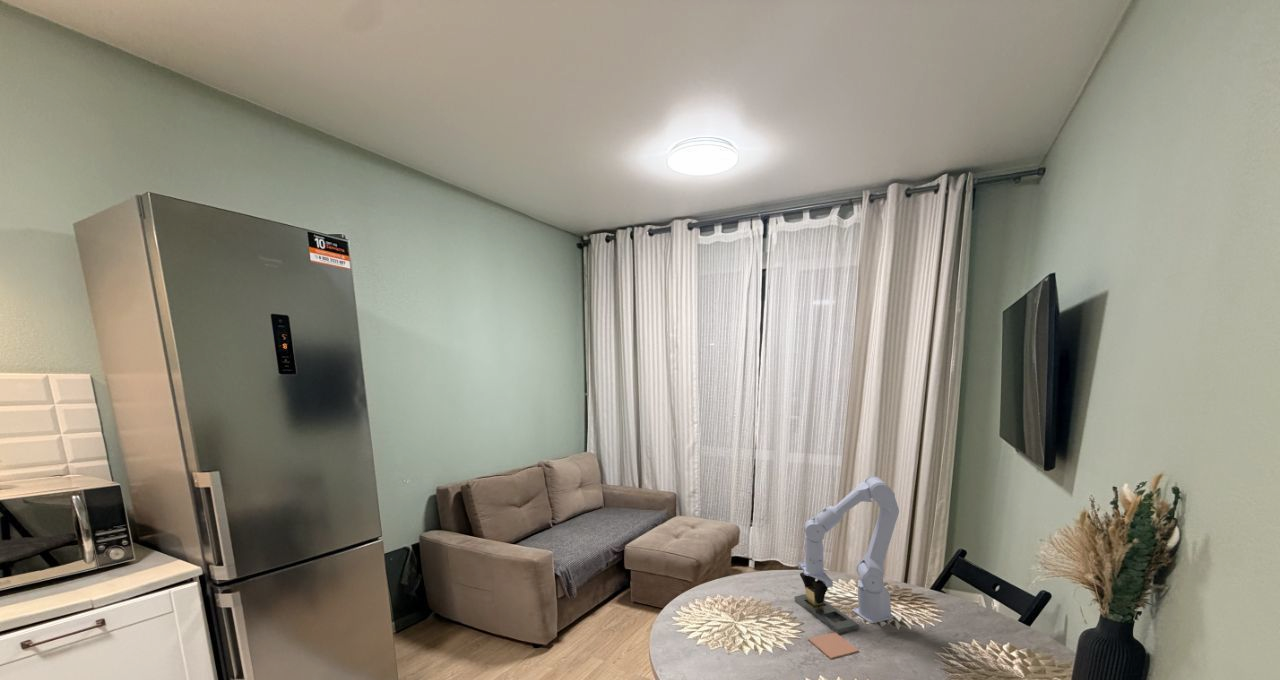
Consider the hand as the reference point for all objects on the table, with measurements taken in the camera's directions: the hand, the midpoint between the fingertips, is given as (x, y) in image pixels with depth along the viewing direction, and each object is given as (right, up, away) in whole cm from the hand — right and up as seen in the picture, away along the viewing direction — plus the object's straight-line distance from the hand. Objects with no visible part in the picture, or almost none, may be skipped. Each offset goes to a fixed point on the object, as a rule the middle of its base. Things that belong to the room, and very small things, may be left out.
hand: (815, 599), depth 149 cm
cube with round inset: (0, -3, 0) cm, 3 cm away
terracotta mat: (-3, -1, -21) cm, 21 cm away
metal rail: (+1, -2, -4) cm, 5 cm away
